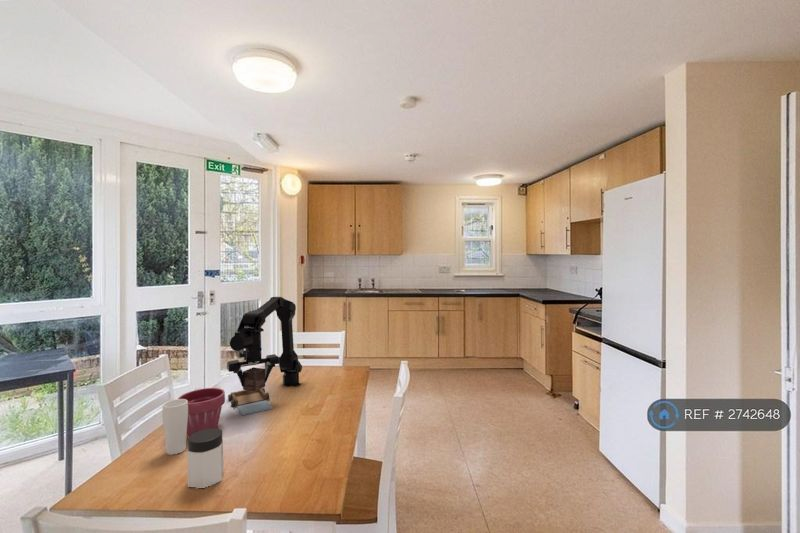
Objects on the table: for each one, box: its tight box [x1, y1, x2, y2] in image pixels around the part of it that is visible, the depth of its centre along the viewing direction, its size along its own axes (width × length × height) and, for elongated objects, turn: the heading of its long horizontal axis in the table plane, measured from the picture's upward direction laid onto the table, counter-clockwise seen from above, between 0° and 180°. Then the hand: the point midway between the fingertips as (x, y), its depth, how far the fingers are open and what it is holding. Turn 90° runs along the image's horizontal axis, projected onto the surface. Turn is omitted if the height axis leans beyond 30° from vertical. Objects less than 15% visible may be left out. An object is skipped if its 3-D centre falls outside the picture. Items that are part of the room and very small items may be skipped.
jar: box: [186, 428, 224, 489], centre depth 97 cm, size 9×8×12 cm
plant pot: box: [177, 387, 226, 438], centre depth 125 cm, size 14×14×13 cm
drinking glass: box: [161, 398, 188, 456], centre depth 112 cm, size 7×7×15 cm
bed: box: [227, 387, 271, 410], centre depth 152 cm, size 14×12×3 cm
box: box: [242, 367, 266, 391], centre depth 143 cm, size 6×6×7 cm
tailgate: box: [236, 400, 273, 416], centre depth 143 cm, size 11×9×1 cm
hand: (254, 384), depth 143 cm, fingers closed on box, 8 cm apart
